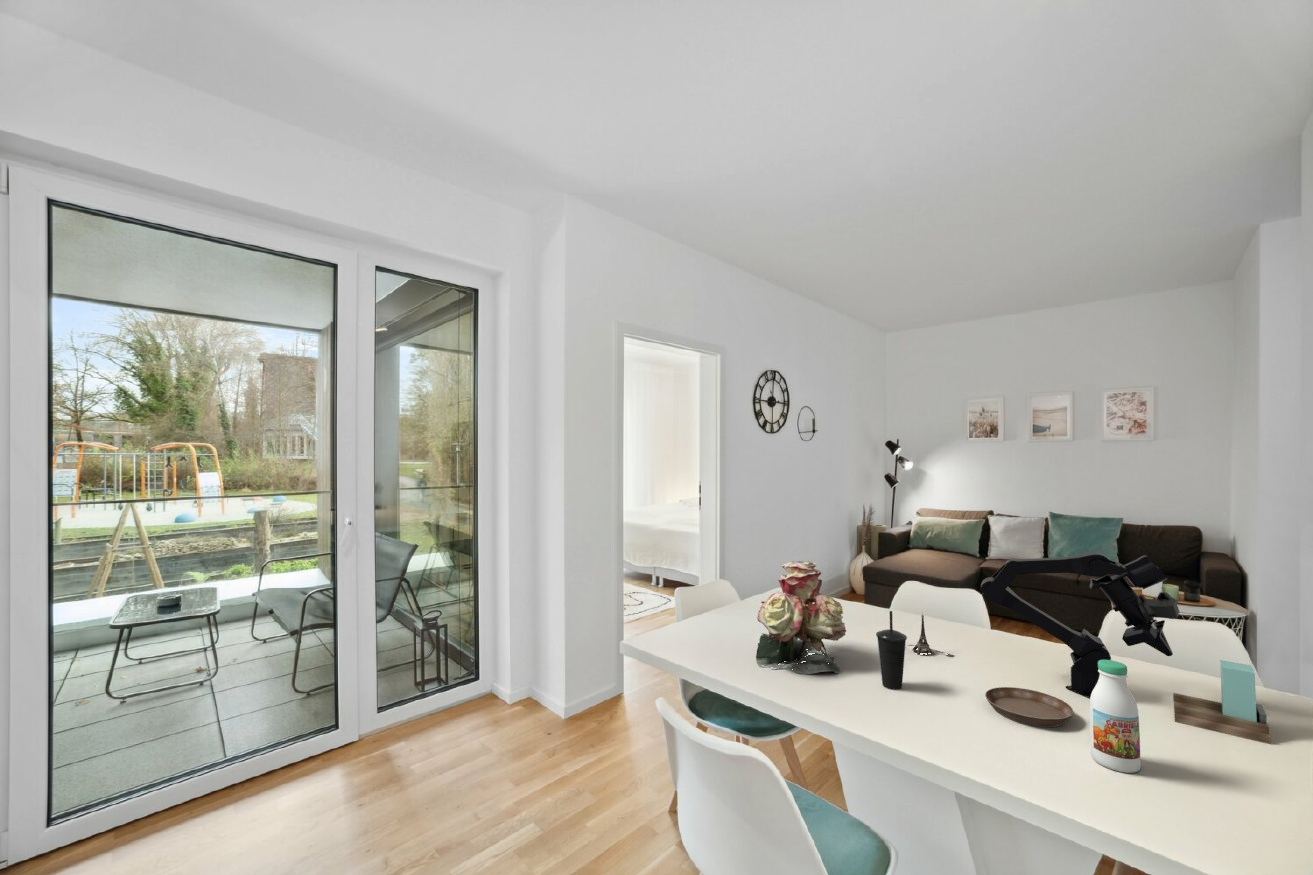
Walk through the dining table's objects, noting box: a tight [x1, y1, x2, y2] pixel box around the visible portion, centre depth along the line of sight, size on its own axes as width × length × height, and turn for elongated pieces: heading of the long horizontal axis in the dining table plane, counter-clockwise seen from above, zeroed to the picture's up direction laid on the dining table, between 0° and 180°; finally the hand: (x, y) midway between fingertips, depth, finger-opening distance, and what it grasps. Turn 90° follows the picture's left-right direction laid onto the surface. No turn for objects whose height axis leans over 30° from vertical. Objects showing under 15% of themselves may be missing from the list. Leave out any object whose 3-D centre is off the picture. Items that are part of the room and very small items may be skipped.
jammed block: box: [1219, 659, 1257, 722], centre depth 126 cm, size 5×6×12 cm
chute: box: [1172, 692, 1272, 745], centre depth 128 cm, size 15×13×5 cm
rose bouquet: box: [755, 560, 847, 675], centre depth 168 cm, size 26×29×30 cm
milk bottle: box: [1089, 659, 1141, 774], centre depth 111 cm, size 8×8×20 cm
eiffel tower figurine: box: [907, 611, 956, 658], centre depth 174 cm, size 15×10×13 cm
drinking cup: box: [875, 610, 908, 691], centre depth 149 cm, size 8×8×20 cm
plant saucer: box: [984, 686, 1074, 728], centre depth 133 cm, size 18×18×3 cm
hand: (1170, 655), depth 136 cm, fingers closed
